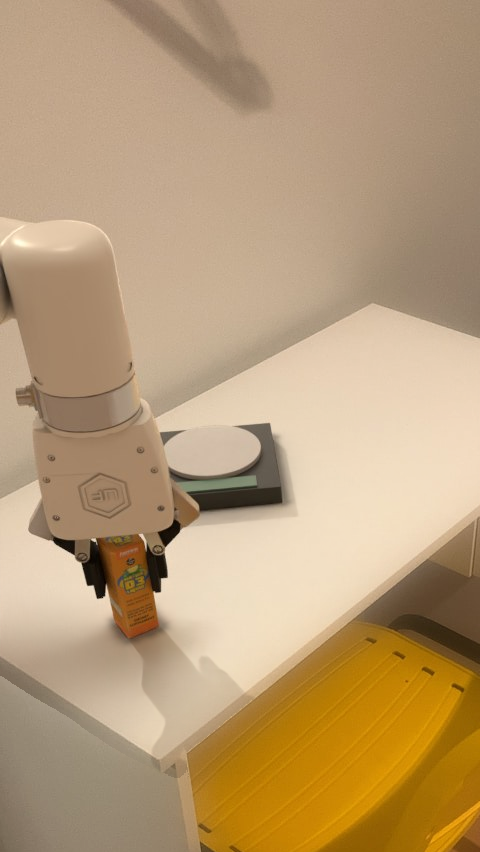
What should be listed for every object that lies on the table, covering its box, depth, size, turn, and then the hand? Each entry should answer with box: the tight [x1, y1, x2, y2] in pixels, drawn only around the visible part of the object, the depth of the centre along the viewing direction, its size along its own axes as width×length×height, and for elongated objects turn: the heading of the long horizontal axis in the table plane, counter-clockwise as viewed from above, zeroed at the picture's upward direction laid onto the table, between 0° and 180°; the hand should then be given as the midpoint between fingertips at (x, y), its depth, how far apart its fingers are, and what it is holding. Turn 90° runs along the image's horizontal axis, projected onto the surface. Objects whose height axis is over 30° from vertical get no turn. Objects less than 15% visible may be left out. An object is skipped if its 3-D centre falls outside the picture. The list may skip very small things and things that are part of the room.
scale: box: [159, 422, 283, 512], centre depth 107 cm, size 14×14×3 cm
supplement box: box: [95, 534, 160, 639], centre depth 85 cm, size 3×3×10 cm
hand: (129, 584), depth 85 cm, fingers closed on supplement box, 4 cm apart
